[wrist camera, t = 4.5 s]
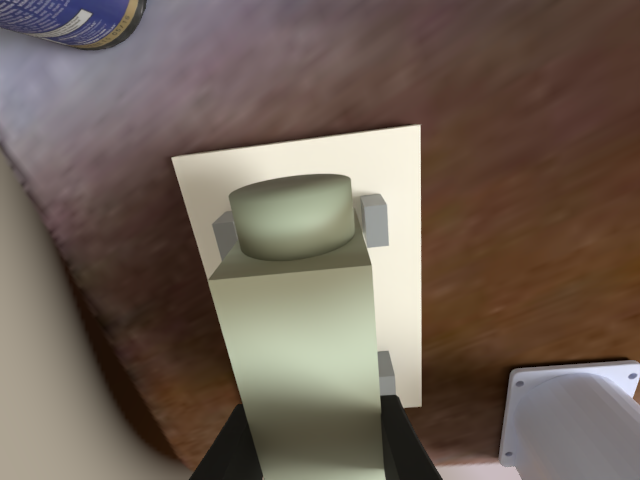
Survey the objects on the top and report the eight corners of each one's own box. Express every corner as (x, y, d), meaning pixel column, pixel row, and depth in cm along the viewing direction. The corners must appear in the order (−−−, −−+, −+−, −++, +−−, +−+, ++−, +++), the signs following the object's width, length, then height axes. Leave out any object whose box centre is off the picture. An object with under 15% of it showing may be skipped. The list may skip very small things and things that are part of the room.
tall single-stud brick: (372, 426, 16) (389, 549, 12) (297, 430, 16) (285, 553, 12) (351, 165, 11) (367, 199, 7) (245, 178, 12) (190, 218, 7)
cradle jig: (417, 394, 22) (430, 435, 19) (252, 405, 23) (241, 446, 20) (414, 124, 15) (433, 126, 12) (180, 155, 16) (148, 163, 13)
